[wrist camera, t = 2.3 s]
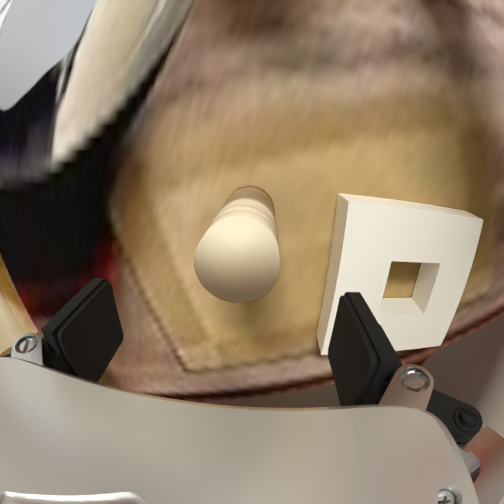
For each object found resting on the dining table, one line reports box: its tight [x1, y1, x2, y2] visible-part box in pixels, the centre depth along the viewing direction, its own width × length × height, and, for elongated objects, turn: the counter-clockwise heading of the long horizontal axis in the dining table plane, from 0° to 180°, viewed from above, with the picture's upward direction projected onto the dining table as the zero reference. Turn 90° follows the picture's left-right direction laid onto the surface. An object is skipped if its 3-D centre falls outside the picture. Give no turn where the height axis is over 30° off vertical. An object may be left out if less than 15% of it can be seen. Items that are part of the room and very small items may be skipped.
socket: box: [316, 194, 483, 355], centre depth 25 cm, size 16×16×4 cm
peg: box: [194, 186, 280, 303], centre depth 20 cm, size 4×4×12 cm
